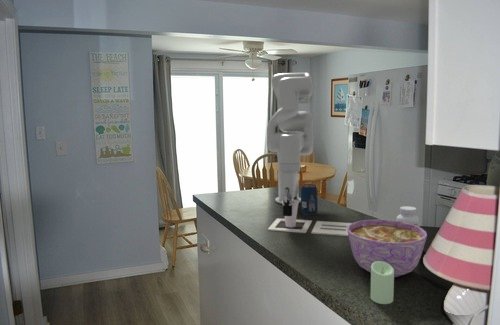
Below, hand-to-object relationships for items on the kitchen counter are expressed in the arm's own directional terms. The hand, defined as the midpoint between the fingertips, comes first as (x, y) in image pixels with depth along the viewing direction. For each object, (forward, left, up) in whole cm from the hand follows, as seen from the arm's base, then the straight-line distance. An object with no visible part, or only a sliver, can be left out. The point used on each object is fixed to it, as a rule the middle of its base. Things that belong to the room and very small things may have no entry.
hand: (290, 212), depth 145 cm
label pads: (0, +8, -5) cm, 10 cm away
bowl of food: (+34, +33, -6) cm, 47 cm away
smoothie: (0, 0, -6) cm, 6 cm away
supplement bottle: (+14, +40, -6) cm, 43 cm away
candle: (+50, +32, -6) cm, 59 cm away
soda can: (-19, +4, -6) cm, 20 cm away
